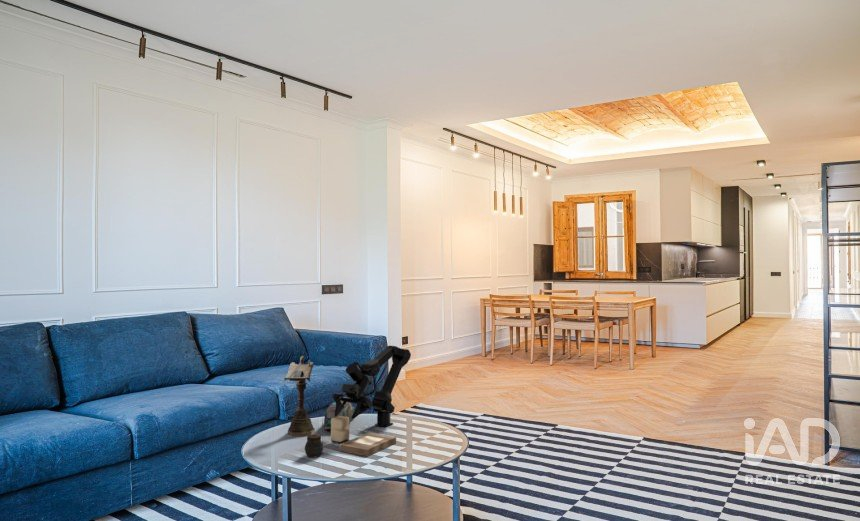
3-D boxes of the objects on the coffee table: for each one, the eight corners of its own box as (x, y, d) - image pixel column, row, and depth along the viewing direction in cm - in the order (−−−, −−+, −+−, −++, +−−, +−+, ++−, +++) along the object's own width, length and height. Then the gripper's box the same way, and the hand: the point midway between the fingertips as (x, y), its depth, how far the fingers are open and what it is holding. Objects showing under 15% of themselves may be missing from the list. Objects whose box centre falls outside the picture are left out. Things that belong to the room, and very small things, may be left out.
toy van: (355, 418, 291) (355, 398, 291) (346, 432, 266) (346, 410, 266) (333, 418, 291) (333, 397, 291) (322, 432, 267) (322, 410, 267)
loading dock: (369, 438, 256) (369, 432, 256) (396, 443, 249) (396, 436, 249) (339, 450, 239) (339, 444, 239) (367, 456, 231) (367, 449, 232)
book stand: (310, 440, 254) (309, 358, 254) (280, 439, 255) (280, 358, 255) (321, 429, 270) (321, 353, 271) (293, 429, 271) (293, 353, 272)
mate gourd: (321, 458, 229) (321, 433, 229) (302, 458, 229) (302, 433, 229) (324, 452, 236) (324, 428, 236) (306, 452, 236) (306, 428, 236)
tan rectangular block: (340, 438, 255) (340, 415, 255) (349, 440, 253) (349, 417, 253) (331, 442, 250) (330, 418, 250) (340, 444, 247) (340, 420, 248)
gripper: (334, 374, 263) (318, 404, 253) (368, 378, 254) (352, 409, 244) (346, 389, 270) (330, 418, 260) (379, 393, 260) (364, 424, 251)
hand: (343, 417), depth 254 cm, fingers open, 9 cm apart
